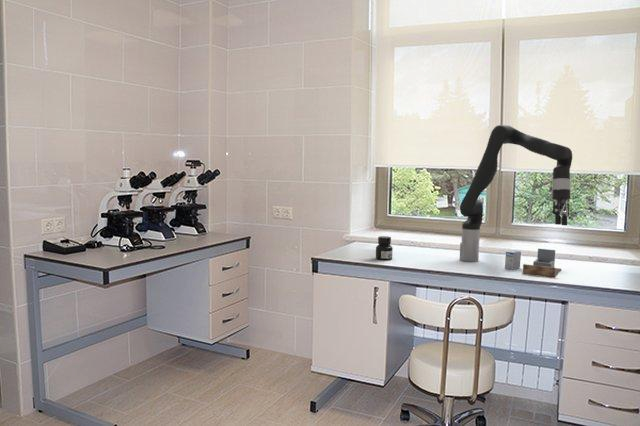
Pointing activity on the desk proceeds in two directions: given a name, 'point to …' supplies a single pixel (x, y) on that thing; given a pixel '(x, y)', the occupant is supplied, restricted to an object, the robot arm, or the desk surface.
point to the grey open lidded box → (545, 258)
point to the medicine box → (512, 259)
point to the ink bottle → (384, 248)
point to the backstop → (540, 270)
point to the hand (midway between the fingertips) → (561, 224)
